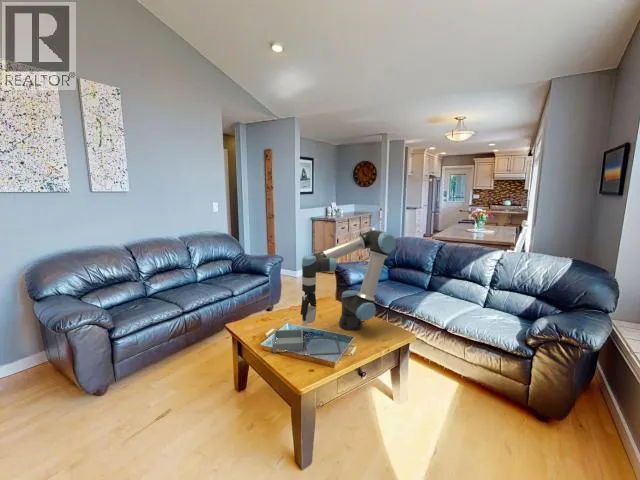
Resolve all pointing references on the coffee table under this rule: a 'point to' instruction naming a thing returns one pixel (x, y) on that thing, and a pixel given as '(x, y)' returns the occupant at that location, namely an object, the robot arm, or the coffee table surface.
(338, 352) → the square tray frame
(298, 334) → the bin
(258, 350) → the coffee table surface
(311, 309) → the cup
